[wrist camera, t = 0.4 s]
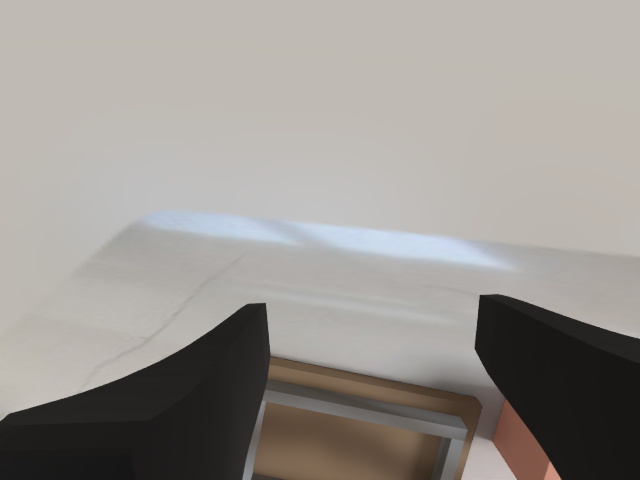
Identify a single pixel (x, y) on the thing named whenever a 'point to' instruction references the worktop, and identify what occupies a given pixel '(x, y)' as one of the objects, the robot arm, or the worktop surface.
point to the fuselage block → (521, 448)
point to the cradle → (357, 428)
